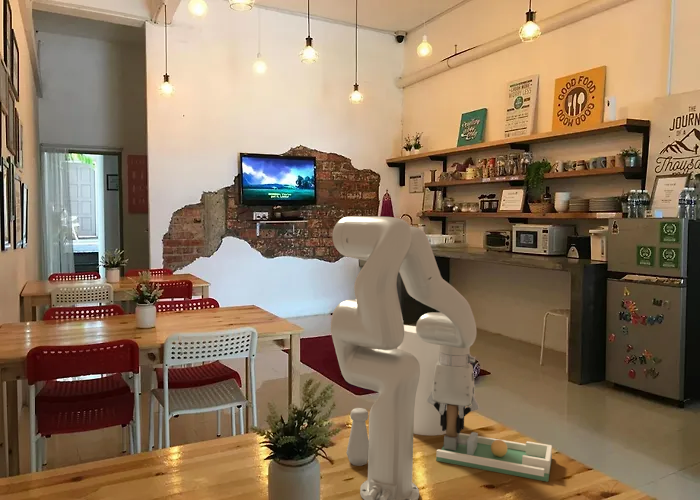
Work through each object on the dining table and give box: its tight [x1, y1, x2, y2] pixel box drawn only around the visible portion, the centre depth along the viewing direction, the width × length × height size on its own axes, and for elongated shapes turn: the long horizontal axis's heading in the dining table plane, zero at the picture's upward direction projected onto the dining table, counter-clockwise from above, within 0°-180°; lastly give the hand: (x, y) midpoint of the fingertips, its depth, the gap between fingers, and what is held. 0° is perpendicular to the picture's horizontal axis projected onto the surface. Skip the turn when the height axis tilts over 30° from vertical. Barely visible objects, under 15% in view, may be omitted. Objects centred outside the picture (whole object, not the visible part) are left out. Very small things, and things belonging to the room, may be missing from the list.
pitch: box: [435, 432, 553, 483], centre depth 140 cm, size 14×26×4 cm, turn 67°
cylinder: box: [396, 324, 447, 436], centre depth 163 cm, size 17×17×28 cm
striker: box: [443, 404, 479, 455], centre depth 143 cm, size 6×8×11 cm
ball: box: [491, 439, 508, 457], centre depth 140 cm, size 4×4×4 cm
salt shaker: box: [346, 407, 369, 467], centre depth 137 cm, size 6×6×13 cm
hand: (451, 429), depth 144 cm, fingers closed on striker, 3 cm apart
